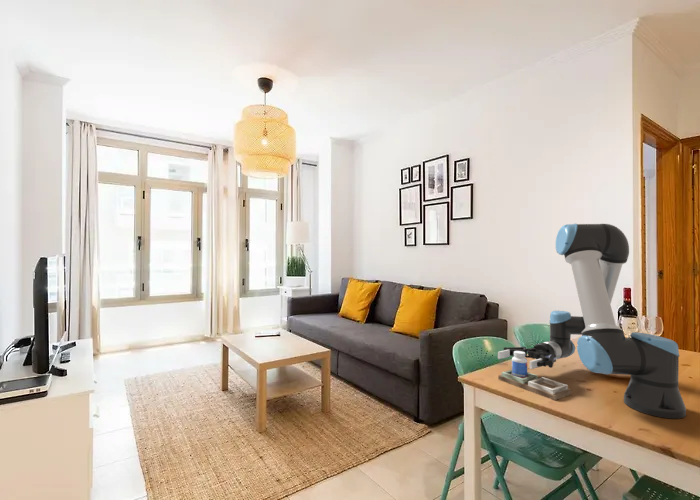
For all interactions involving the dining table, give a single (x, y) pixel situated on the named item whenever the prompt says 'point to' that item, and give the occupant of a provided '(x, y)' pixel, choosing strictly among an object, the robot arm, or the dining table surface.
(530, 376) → the board
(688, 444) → the dining table surface
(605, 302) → the robot arm
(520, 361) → the pill bottle
